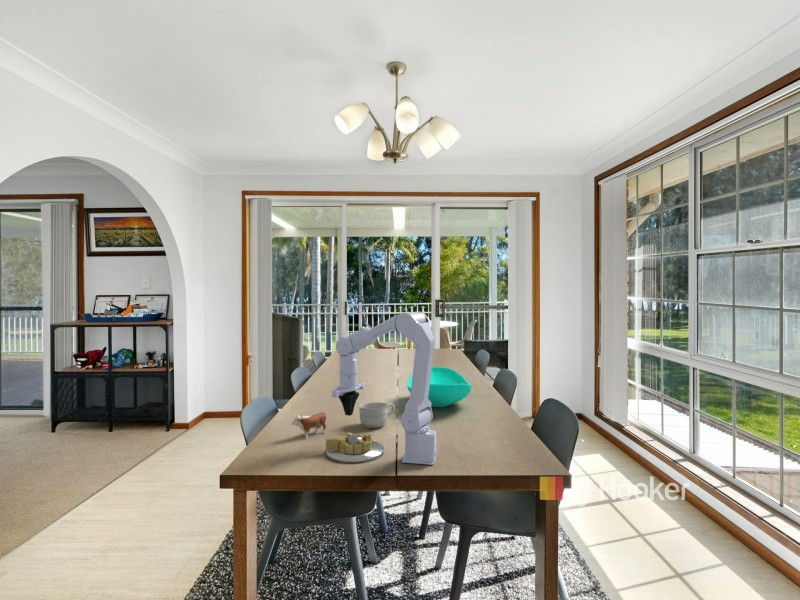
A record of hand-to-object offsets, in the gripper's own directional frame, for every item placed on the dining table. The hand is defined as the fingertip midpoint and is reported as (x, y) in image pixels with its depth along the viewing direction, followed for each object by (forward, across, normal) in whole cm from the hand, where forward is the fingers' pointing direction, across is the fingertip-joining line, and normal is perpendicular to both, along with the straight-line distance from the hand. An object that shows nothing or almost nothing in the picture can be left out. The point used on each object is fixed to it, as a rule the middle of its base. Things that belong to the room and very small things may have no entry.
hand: (348, 414), depth 151 cm
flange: (+10, +4, +6) cm, 12 cm away
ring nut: (+8, +5, +4) cm, 11 cm away
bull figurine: (+10, 0, -17) cm, 20 cm away
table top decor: (+10, -60, +3) cm, 61 cm away
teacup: (+10, -22, -4) cm, 25 cm away
